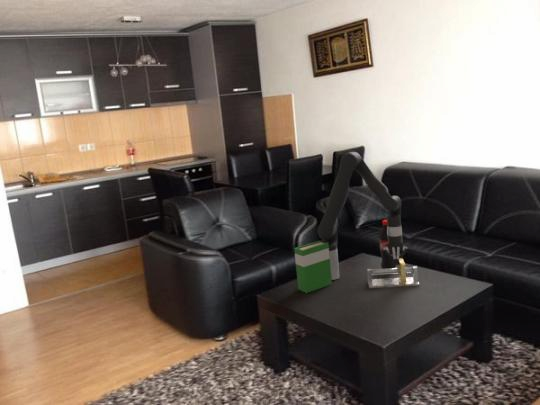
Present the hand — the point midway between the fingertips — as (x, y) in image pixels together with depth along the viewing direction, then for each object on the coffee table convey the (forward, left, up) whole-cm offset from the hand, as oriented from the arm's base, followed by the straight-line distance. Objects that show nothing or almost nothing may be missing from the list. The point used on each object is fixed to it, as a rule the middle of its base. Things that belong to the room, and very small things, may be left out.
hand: (396, 264), depth 270 cm
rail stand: (-2, 0, -10) cm, 11 cm away
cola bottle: (-2, +20, -11) cm, 23 cm away
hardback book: (-44, +1, -11) cm, 46 cm away
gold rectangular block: (+3, 0, -8) cm, 9 cm away
